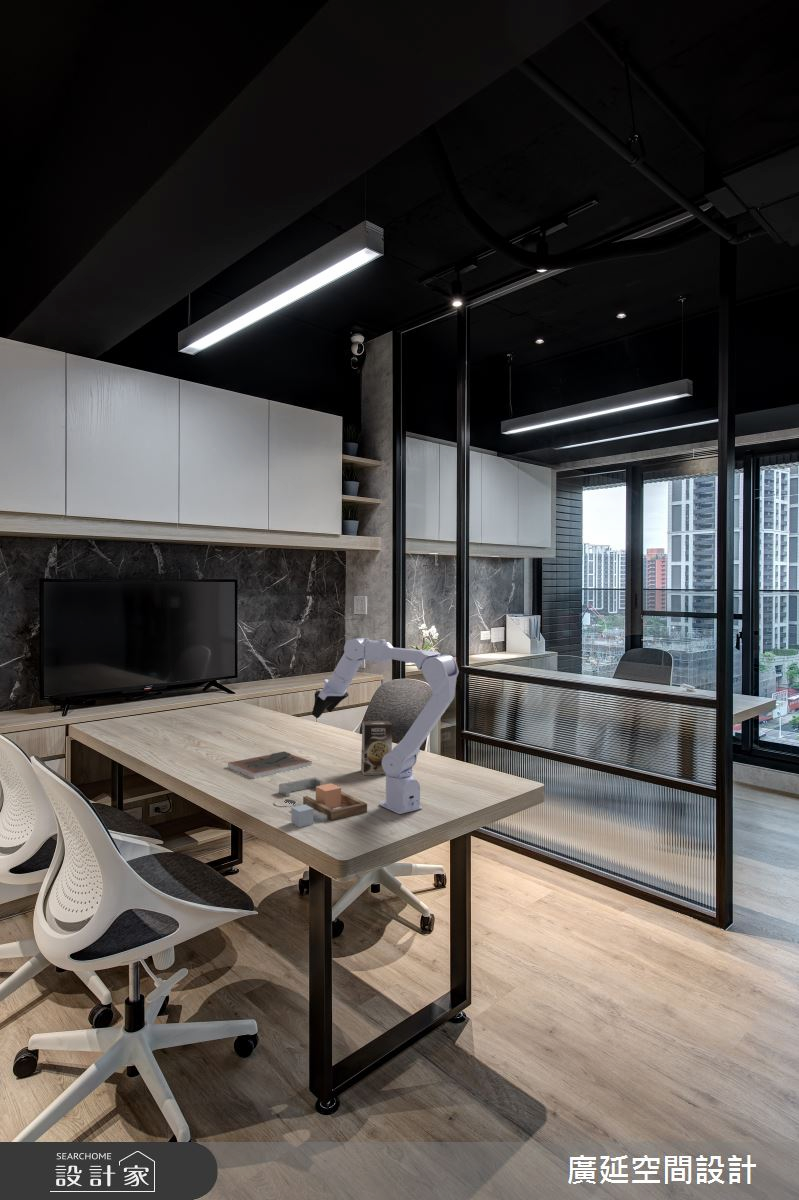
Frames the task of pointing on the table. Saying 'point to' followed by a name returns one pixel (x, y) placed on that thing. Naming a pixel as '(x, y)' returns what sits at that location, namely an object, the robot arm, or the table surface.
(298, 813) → the slate block
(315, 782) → the rail
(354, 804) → the bay
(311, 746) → the table surface
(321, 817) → the steel bar
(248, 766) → the picture frame
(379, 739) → the coffee box
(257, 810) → the table surface
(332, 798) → the cube
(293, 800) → the hole disc
